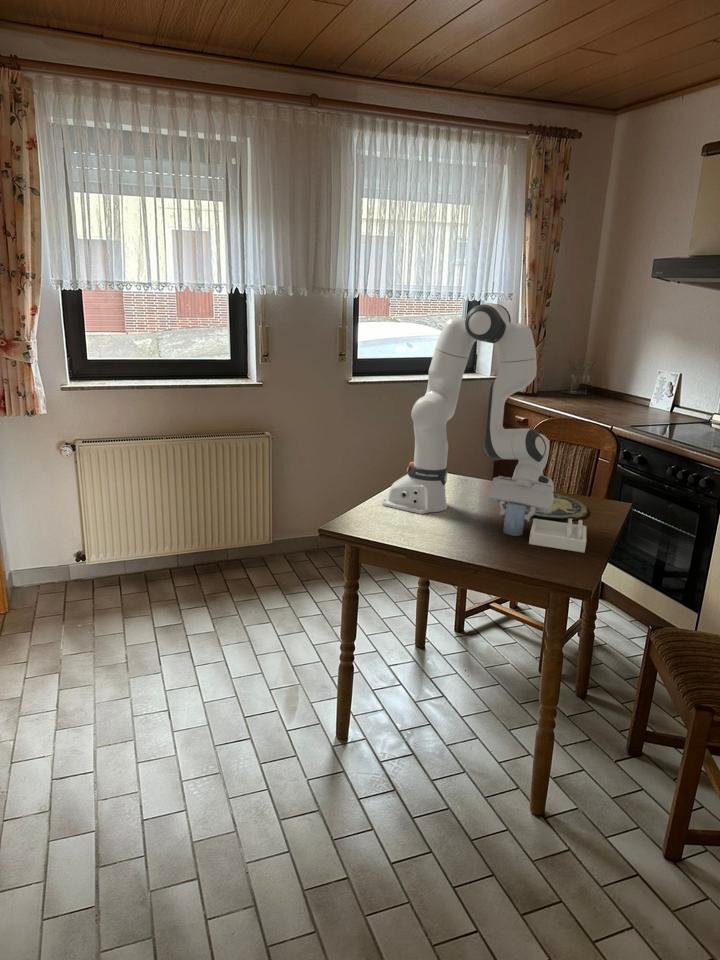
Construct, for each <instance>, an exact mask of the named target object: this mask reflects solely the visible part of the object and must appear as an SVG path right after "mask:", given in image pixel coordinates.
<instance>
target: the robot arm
mask: <svg viewBox="0 0 720 960" xmlns="http://www.w3.org/2000/svg"><path fill="white" fill-rule="evenodd" d="M511 320H512V319H511V315H510V312H509V311H508V309H507V308H506V307H505V306H504V305H501V304H498V303H491V302H488V303H484V304H478V305H476V306H474V307H472V308H471V309H470V311H468V313H467V314H466V317H459V316H457V317H456V316H454V317H452V318H449V319H448V320H447V321H446V322H445V324H444V326H443V328H442V330H441V332H440V334H439V336H438V339H437V341H436V346H435V347H434V351H433V355H432V358H431V362H430V365H429V369H428V379H427V388H426V392H425V394H424V396H421V397H420V398H418V399H417V400H416V401H415V403H414V404H413V406H412V409H411V413H410V414H411V415H410V416H411V420H412V422H413V423H412V424H413V432H414V455H413V461H411V462H409V464H408V466H407V468H406V474H405V475H403V476H402V477H399V478H398V479H397V480H395V481H394V482H393V483H392V484H391V486H390V489H389V492H388V493H387V494H385V495H384V496H383V497H382V499H381V504H382V505H383V506H385V507H389V508H393V509H398V510H402V511H406V512H412V513H416V514H420V515H423V514H428V513H429V514H430V513H438V512H443V511H446V510H447V509H448V503H447V497H446V496H447V495H446V483H447V481H448V467H447V463H448V462H447V461H448V454H449V453H448V452H449V451H448V450H449V443H448V438H447V437H448V435H447V423H448V421H450V420H451V419H452V418H453V416H454V414H455V412H456V409H457V404H458V401H459V395H460V391H461V383H462V380H463V378H464V374H465V370H466V367H467V364H468V361H469V358H470V356H471V355H470V354H471V351H472V349H473V346H474V343H476V342H477V341H478V342H479V341H480V342H485V343H489V344H495V345H496V347H497V349H498V361H499V368H498V373H497V375H496V378H495V379H493V380H492V382H491V383H490V384H491V385H490V389H489V395H488V396H489V397H488V406H487V415H486V416H487V418H486V428H485V434H484V438H483V451H484V453H485V454H486V455H487V456H488V457H489V458H490V459H491V460H493V461H499V460H518V463H517V465H515V469H514V470H513V471H514V472H513V475H512V477H510V476H509V477H508V476H503V475H498V476H495V477H493V478H492V480H491V486H490V488H489V489H488V492H487V498H488V500H489V502H491V503H493V504H499V507H500V513H499V516H501V517H504V518H505V511H506V509H505V508H504V507H505V505H506V504H507V503H508V502H513V503H518V504H523V505H526V509H529V510H530V512H529V513H528V514H525V515H524V522H530V519H531V518H530V517H532V516H533V515H534V514H535V512H536V511H539V512H544V513H550V512H551V511H552V508H553V502H554V496H553V493H554V489H555V485H554V481H553V480H552V478H550V477H547V476H545V475H544V473H543V472H544V469H545V468H546V466H547V463H548V458H549V455H550V441H549V438H548V437H546V436H545V435H544V434H542V433H539V432H538V431H537V430H536V429H534V428H505V427H504V425H503V424H504V413H505V403H506V401H507V399H508V398H509V397H510V396H511V395H513V394H515V393H518V392H519V391H522V390H523V389H526V388H527V387H528V386H530V385H531V384H532V383H533V381H534V380H535V378H536V376H537V372H538V371H537V369H538V366H537V351H536V346H535V340H534V335H533V331H532V329H531V328H530V326H528V325H527V324H525V323H521V322H520V323H518V322H513V323H512V322H511Z"/></svg>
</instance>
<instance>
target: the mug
mask: <svg viewBox="0 0 720 960" xmlns="http://www.w3.org/2000/svg"><path fill="white" fill-rule="evenodd" d="M505 510H506V511H505V517H504V519H503V520H504V521H503V531H502V532H503V533H504V534H505V535H508V536H514V537H515V536H516V537H518V536H522V535H523V534H524V526H525V521H524V515H525V512H526V505H523V504H518V503H513V502H508V503H507V504H506V509H505Z"/></svg>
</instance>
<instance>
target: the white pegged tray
mask: <svg viewBox="0 0 720 960" xmlns="http://www.w3.org/2000/svg"><path fill="white" fill-rule="evenodd" d="M532 519H533V518H532ZM572 520H573V519H568V521H567V522H562V521H548V520H541V519H533V520H532V525H531V529H530V533H529V539H528V540H529V541H528V544H529V545H533V546H540V547H544V548H545V547H546V548H554V549H559V550H563V551H564V550H567V551H572V552H578V553H586V552H585V551H586V546H587V525H583V519H579V520H577V521H578V523H577V524H573V521H572Z"/></svg>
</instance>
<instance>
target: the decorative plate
mask: <svg viewBox="0 0 720 960" xmlns="http://www.w3.org/2000/svg"><path fill="white" fill-rule="evenodd" d="M553 496H554V502H553V508H552V511H551V512H550V513H544V512H539V511H536V512H535V514H534V515H533V516H532V517H530V519H533V518H534V519H541V520H548V521H555V522H562V521H564V522H568V519H573V520H574V521H576V520H575V519H579V518H582V517H584V516H585V515H586V514H587V515H588V513H589V512H588V507H587V506H586V505H585V504H584V503H583V502H581V501H580V500H578V499H576V498H573V497H570V496H568V495H564V494H561V493H557V492H553ZM503 509H504V510H506V505H505V507H503ZM529 512H530V510H529V509H526V512H525V514H528V513H529ZM587 515H586V516H587ZM584 518H585V517H584ZM582 519H583V518H582ZM579 520H580V519H579Z"/></svg>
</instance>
